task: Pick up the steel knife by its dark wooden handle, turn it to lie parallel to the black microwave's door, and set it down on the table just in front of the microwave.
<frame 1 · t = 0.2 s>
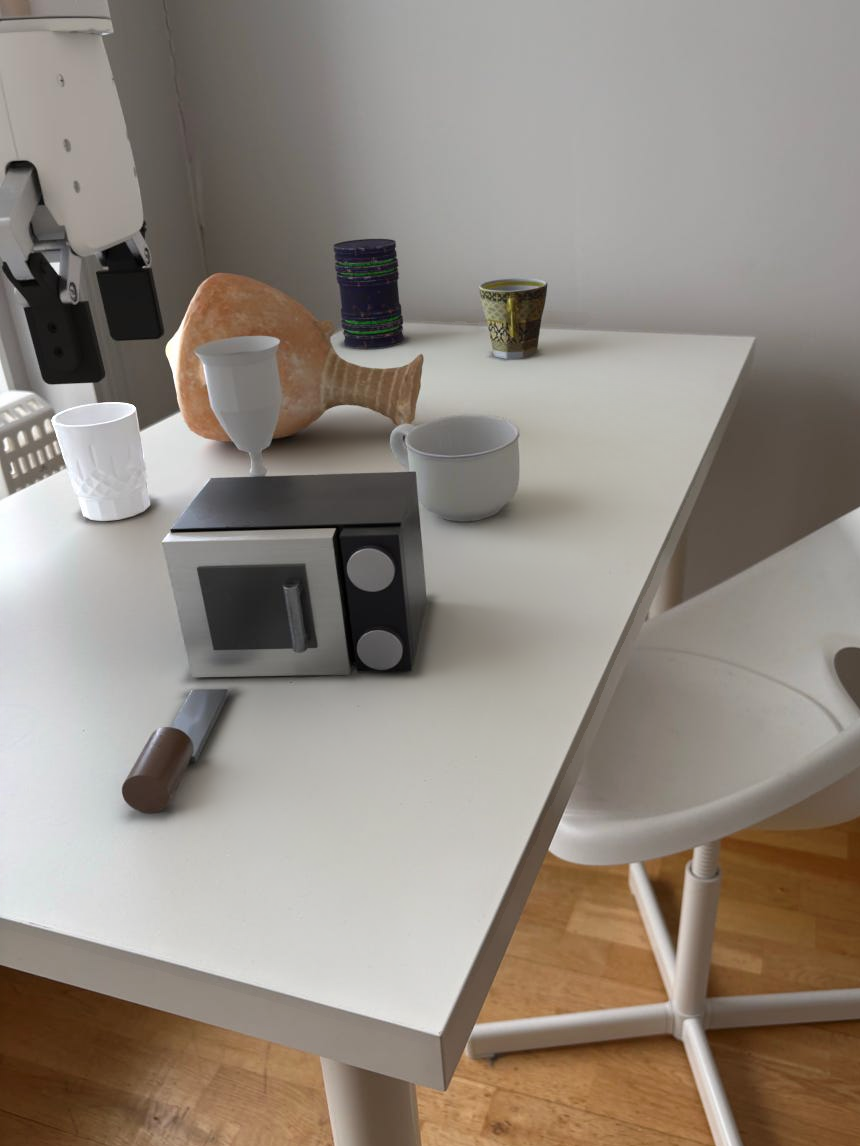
hand: (109, 358, 57), 24 cm above the table, tool pointing down, fingers open, 9 cm apart
teacup: (455, 508, 100), on the table
chalice: (270, 541, 95), on the table
white cup: (117, 511, 104), on the table
microwave: (318, 631, 79), on the table
microwave door: (258, 610, 70), point 5 cm above the table, hinge at 0.0°
ceramic cup: (515, 357, 151), on the table
knife: (180, 753, 65), on the table
storage jar: (374, 342, 164), on the table
jug: (302, 440, 121), on the table
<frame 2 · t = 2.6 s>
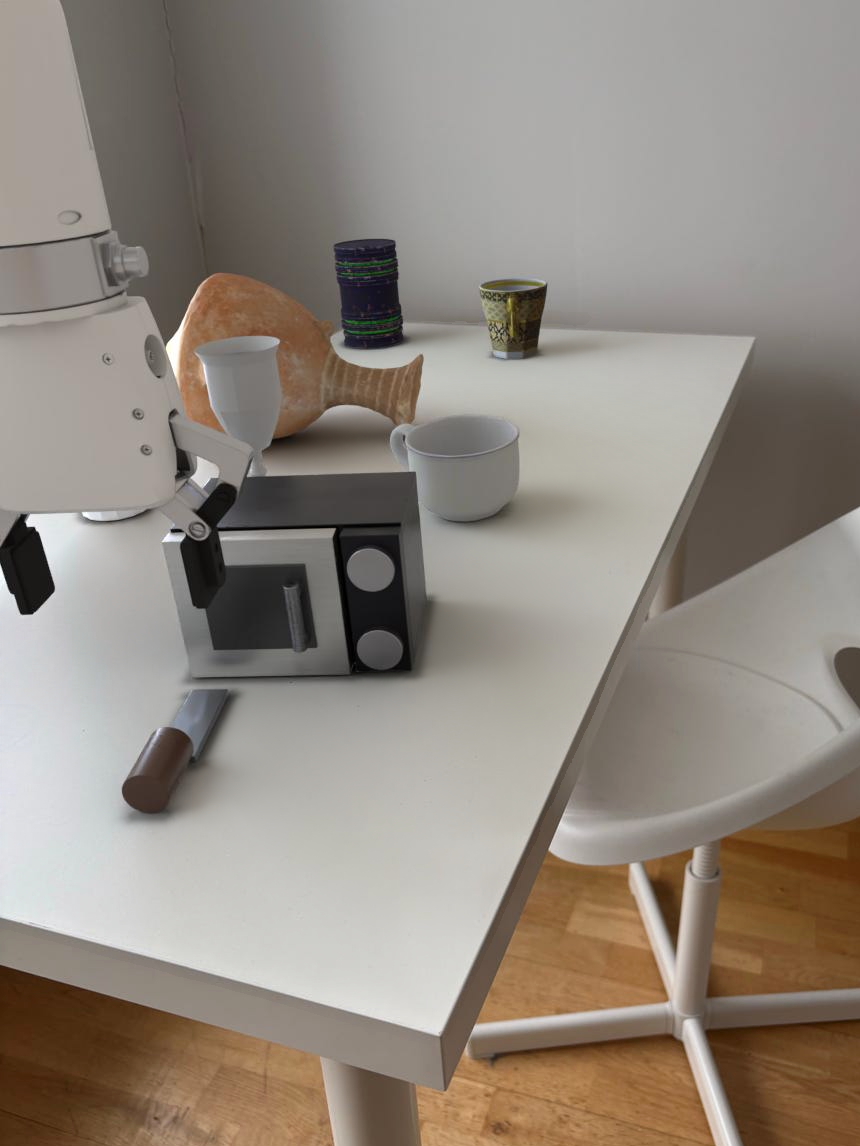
hand: (123, 600, 56), 13 cm above the table, tool pointing down, fingers open, 9 cm apart
nothing on the table moved.
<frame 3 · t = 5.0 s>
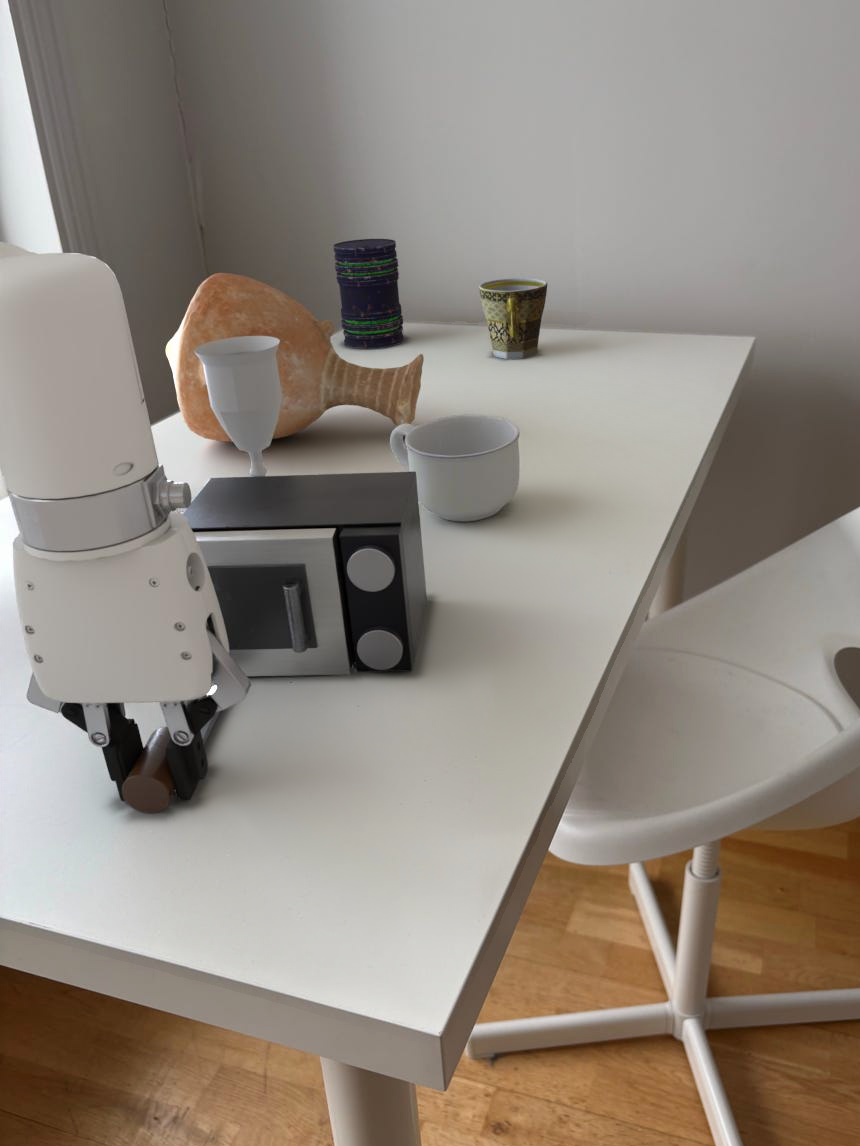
hand: (163, 784, 62), 0 cm above the table, tool pointing down, fingers closed on knife, 2 cm apart
knife: (180, 753, 65), on the table, touching gripper
everything else where it was.
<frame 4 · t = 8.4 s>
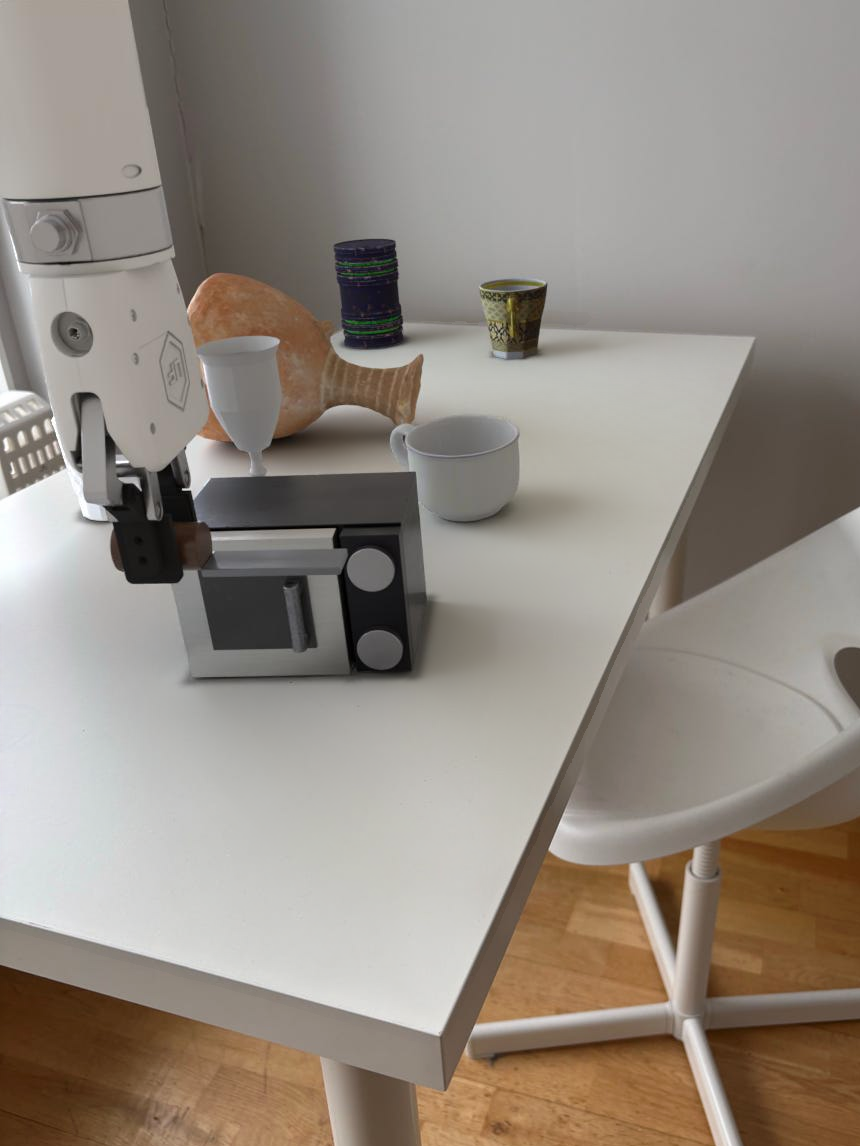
hand: (165, 565, 59), 13 cm above the table, tool pointing down, fingers closed on knife, 2 cm apart
knife: (225, 567, 59), point 13 cm above the table, touching gripper
everything else where it was.
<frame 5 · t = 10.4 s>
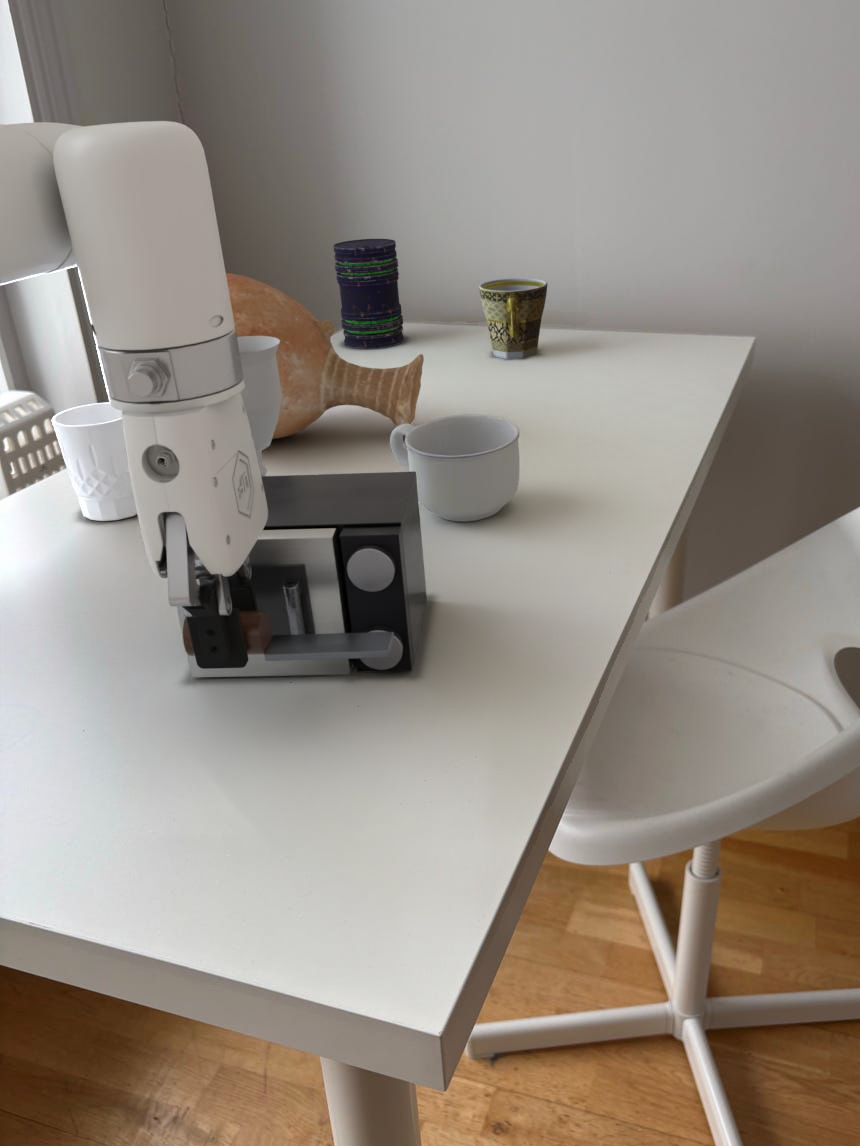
hand: (230, 649, 66), 5 cm above the table, tool pointing down, fingers closed on knife, 2 cm apart
knife: (284, 650, 66), point 5 cm above the table, touching gripper
everything else where it was.
when the fingers open (0 cm above the table, at t = 11.9 s): knife stays where it is, on the table.
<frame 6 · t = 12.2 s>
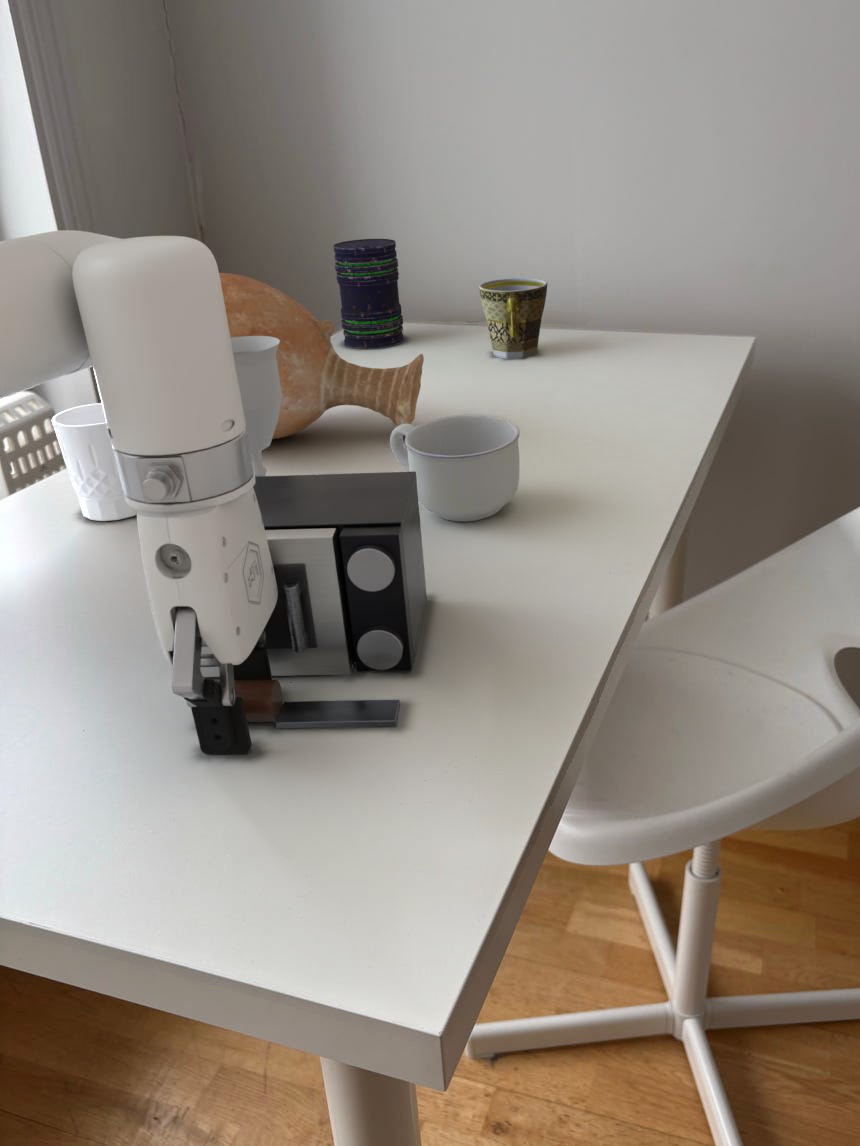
hand: (239, 722, 68), 0 cm above the table, tool pointing down, fingers open, 5 cm apart
microwave door: (258, 610, 70), point 5 cm above the table, hinge at -0.1°, touching gripper
knife: (295, 717, 68), on the table
everything else where it was.
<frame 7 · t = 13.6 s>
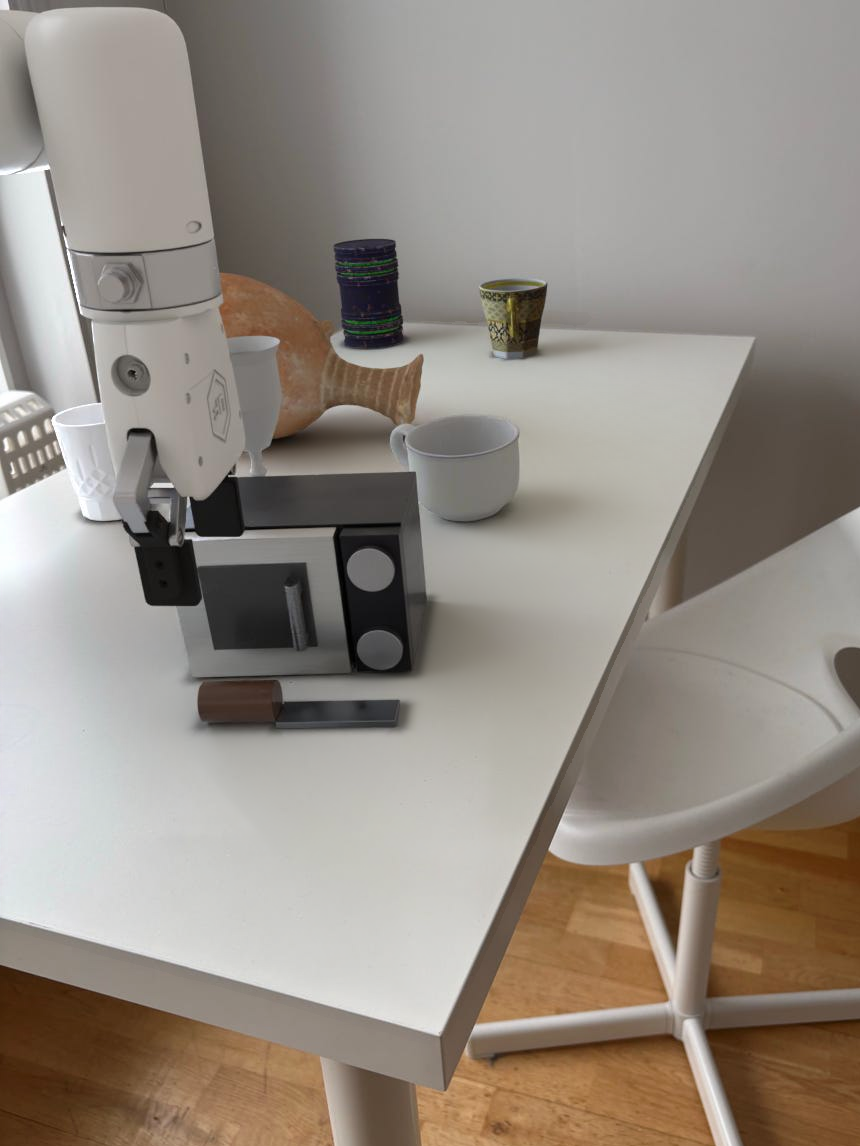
hand: (199, 567, 63), 11 cm above the table, tool pointing down, fingers open, 9 cm apart
microwave door: (259, 610, 70), point 5 cm above the table, hinge at -1.0°
everything else where it was.
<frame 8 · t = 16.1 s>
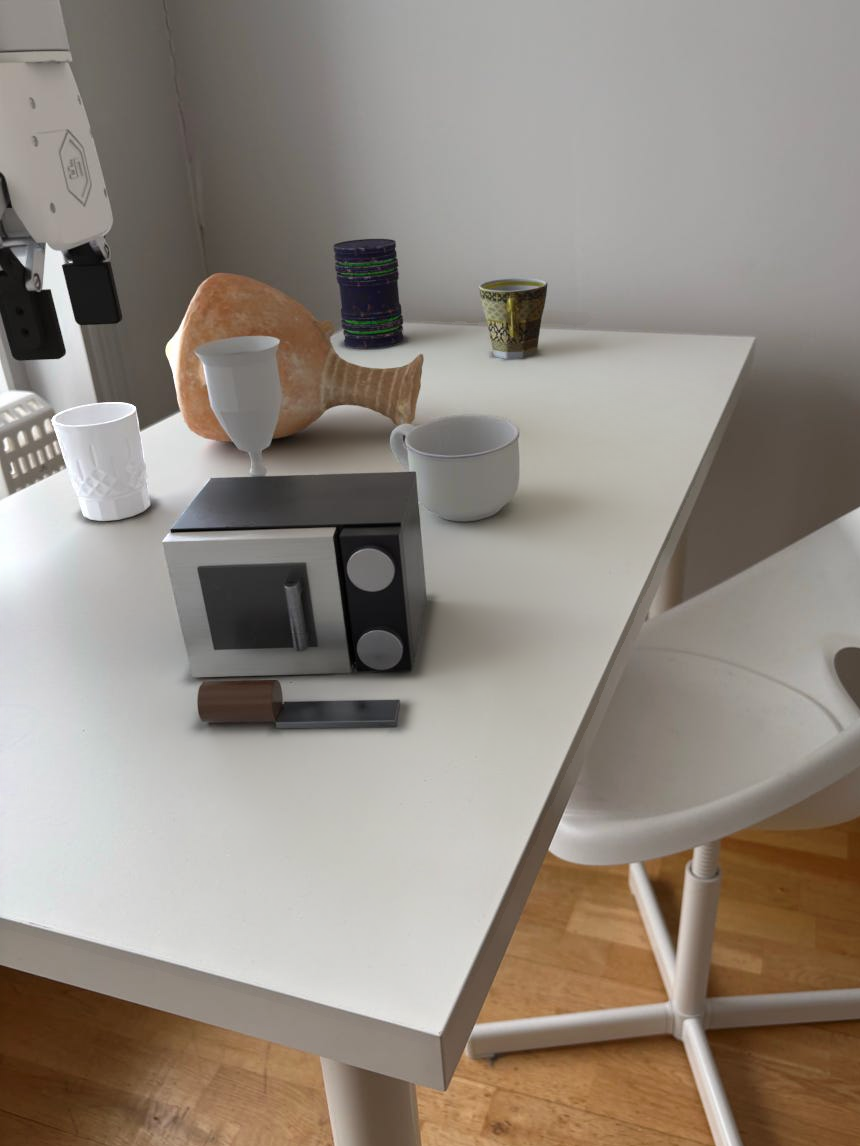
hand: (72, 339, 66), 23 cm above the table, tool pointing down, fingers open, 9 cm apart
nothing on the table moved.
at the end: knife inside the target area on the table beside the microwave (0.6 cm from its centre), on the table; knife tilted 0°; the gripper is holding nothing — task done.
